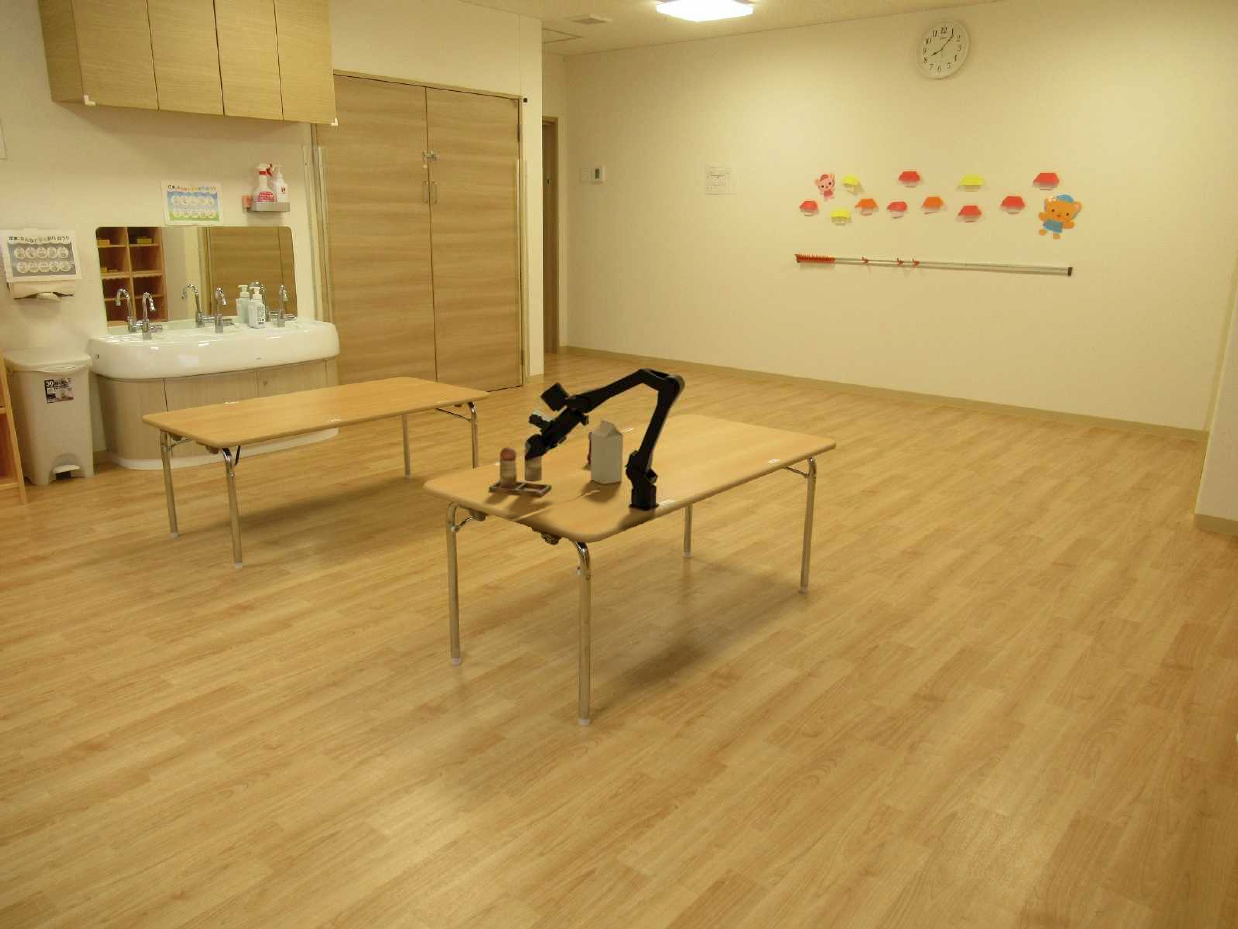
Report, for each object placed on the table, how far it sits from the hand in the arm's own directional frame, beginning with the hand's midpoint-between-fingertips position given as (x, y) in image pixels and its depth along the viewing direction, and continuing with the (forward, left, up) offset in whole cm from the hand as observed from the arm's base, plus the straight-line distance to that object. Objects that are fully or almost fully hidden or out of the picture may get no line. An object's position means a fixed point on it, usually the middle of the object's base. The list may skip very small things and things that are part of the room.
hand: (528, 457), depth 264 cm
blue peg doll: (-1, 0, -7) cm, 7 cm away
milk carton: (-9, -26, -11) cm, 30 cm away
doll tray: (+2, +1, -11) cm, 11 cm away
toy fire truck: (+4, -42, -11) cm, 44 cm away
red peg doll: (+6, +2, -10) cm, 12 cm away
